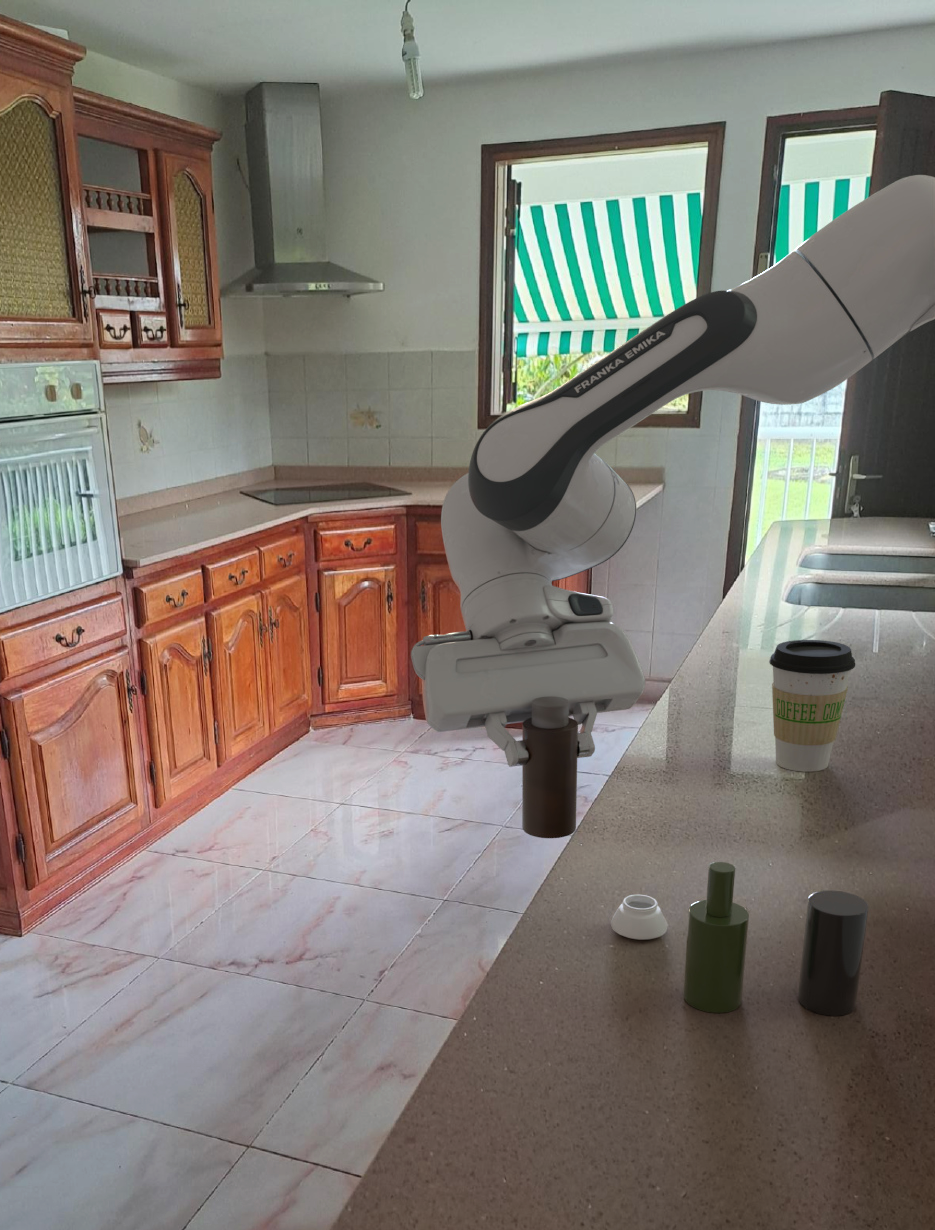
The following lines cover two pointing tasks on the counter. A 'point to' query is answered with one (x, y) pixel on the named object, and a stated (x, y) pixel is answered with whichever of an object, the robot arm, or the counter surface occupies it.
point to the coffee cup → (808, 700)
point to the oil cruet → (716, 945)
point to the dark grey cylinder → (832, 952)
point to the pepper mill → (550, 769)
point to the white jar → (639, 918)
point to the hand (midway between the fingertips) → (553, 759)
